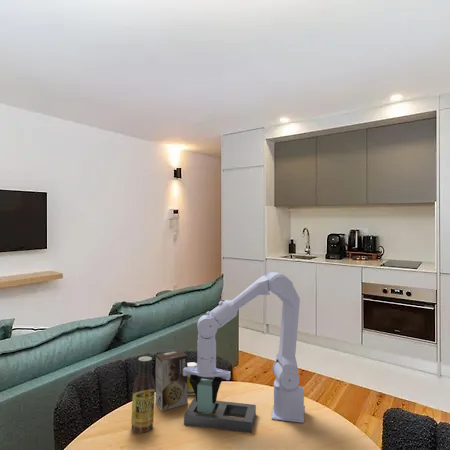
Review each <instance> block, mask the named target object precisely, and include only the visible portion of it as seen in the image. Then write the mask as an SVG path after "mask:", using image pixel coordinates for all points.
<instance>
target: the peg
mask: <svg viewBox="0 0 450 450" xmlns="http://www.w3.org/2000/svg"><path fill="white" fill-rule="evenodd" d="M212 381H213V379H210V378H208V379H207V378H201V380H200V382H199V383H198V385H197V412H198V413H205V414H213V413H212V412H213V410H214V408H215V403H213V387H212Z"/></svg>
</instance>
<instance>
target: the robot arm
mask: <svg viewBox="0 0 450 450" xmlns="http://www.w3.org/2000/svg"><path fill="white" fill-rule="evenodd" d="M270 292H271V293H272V294H274V295H275V296H277V297H278V298H279V300H280V301H281V302H282V309H281V320H280V321H281V322H280V332H279V333H280V334H279V346H278V352H277V354H276V358H275V361H274V363H273V365H272V373H273V375H274V376H275V379H274V381H273V404H272V414H271V420H276V421H283V422H293V423H304V421H305V413H306V406H305V391H304V390H305V388H304V386H301V385H299V384H300V375H299V373H298V364H297V359H296V358H297V357H296V351H297V338H298V327H299V315H300V313H299V312H300V303H301V301H300V299H301V298H300V296H299V294H298V292H297V290H296V288H295V287H294V283H293V281H292V280H291V279H290V278H289V277H287V276H286V275H284V274H283V273H282V274H281V273H280V272H279V271H276V270H270V271H268V272H267V273H266V274H265V275H262V276H260V277H259V278H258V279H257V280H255V281H254V282H253V283H251V284H249V286H248V287H247V288H245V289H244V290H243V291H242V292H241V293H239V294H238V295H237V296H235V297H234V298H233V299H231V300H229V299H225V300H220V301H219V302H218V305H217V306H216V307H215V308H213V309H212V310H210V311H209V310H208V311H207V312H206V314H204V315H203V314H202V316H200V317H199V318H198V320H197V323H196V327H197V328H196V329H197V332H198V334H197V340H196V341H197V343H196V344H197V348H196V352H197V353H196V354H197V355H196V356H197V357H196V359H197V361H196V363H197V367H185V368H184V369H183V376H187V375H190V379H189V382H190V384H191V386H192V388H193V390H194V393H195V395H194V396H195V397H194V398H196V401H197V385H198V383H199V382H200V380H201V379H202V378H212V380H213V381H212V387H213V403H215V402H216V401H217V399H218V392H219V390H220V387H221V384H222V382H223V380H226V381H230V379H231V370H230V371H229V370H225V369H221V368H217V340H216V334H217V333H218V329H221V328H222V327H223V326H225V325H226V324H227V323H229V322H230V321H232V320H233V319H234V318H235V317H237V316H238V311H239V309H241V308H243V307H244V306H246V304H248V303H250V302H251V301H252V300H254V299H256V298H257V297H259V296H260V295H261V296H262V295H263V296H270V295H271V294H270Z"/></svg>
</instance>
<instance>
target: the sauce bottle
mask: <svg viewBox="0 0 450 450" xmlns="http://www.w3.org/2000/svg"><path fill="white" fill-rule="evenodd" d="M152 364H153V357H151V356H148V355H147V356H146V355H145V356H140V357H138V360H137V365H138V371H137V376H136V377H135V379H134V381H133V385H132V386H133V390H132V402H131V403H132V404H131V422H130V423H131V430H132V431H133V432H134V433H138V434H141V433H146V432H148V431H150V430H151V429H152V427H153V425H154V417H155V416H154V415H155V396H156V382H155V378H154V376H153V374H152Z"/></svg>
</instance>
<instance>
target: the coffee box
mask: <svg viewBox="0 0 450 450" xmlns="http://www.w3.org/2000/svg"><path fill="white" fill-rule="evenodd" d="M187 363H188V355H187V354H186V353H185V351H182V350H181V349H175V350H170V351H167V352H162V353H155V404H156V406H158V408H159V409H160V410H161V411H162V412H164V411H167V410H170V409H174V408H177V407H180V406H183V405H187V404H188V402H189V398H188V397H189V395H188V381H187V376H183V369H184V368H185V367H187Z"/></svg>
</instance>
